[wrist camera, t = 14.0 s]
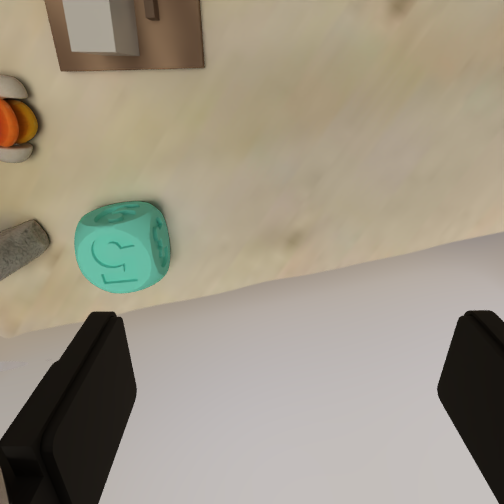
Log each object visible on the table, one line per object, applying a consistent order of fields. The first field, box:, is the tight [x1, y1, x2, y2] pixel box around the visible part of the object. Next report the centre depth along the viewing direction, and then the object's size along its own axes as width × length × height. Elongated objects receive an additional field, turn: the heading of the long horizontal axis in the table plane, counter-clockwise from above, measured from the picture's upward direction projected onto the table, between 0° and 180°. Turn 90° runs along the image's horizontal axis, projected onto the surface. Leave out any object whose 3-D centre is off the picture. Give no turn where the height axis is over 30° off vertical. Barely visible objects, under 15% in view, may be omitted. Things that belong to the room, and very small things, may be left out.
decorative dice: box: [74, 201, 170, 293], centre depth 41 cm, size 8×8×8 cm
